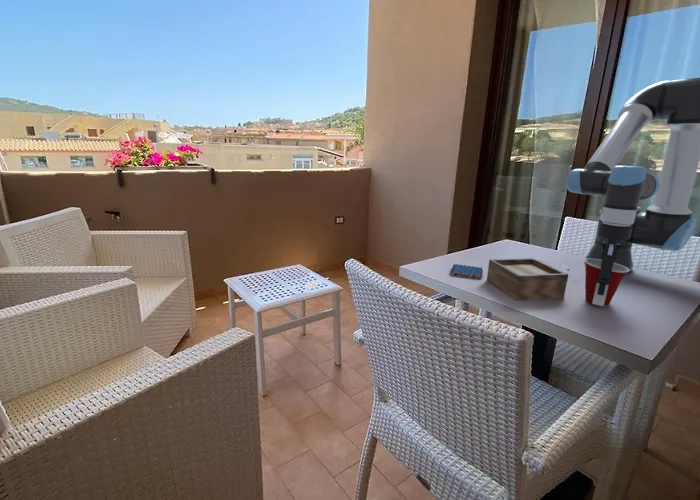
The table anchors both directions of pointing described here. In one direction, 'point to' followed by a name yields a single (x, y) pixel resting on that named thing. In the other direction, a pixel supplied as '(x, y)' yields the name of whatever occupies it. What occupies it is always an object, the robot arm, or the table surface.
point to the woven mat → (467, 271)
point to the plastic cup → (593, 274)
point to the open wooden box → (526, 279)
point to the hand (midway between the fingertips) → (598, 299)
